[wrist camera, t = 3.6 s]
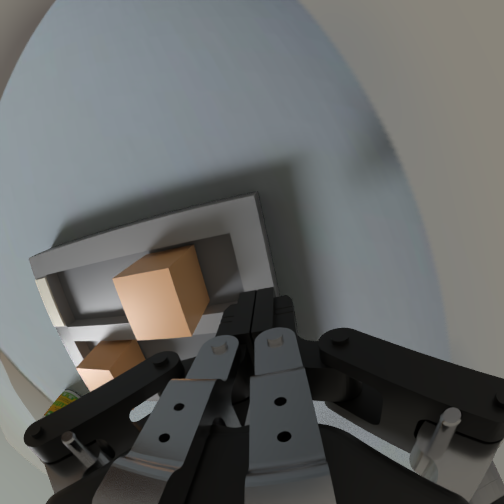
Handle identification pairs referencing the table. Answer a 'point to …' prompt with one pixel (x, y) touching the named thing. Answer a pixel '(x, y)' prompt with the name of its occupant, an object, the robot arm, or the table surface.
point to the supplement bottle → (62, 401)
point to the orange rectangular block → (109, 361)
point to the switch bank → (146, 242)
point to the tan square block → (163, 294)
